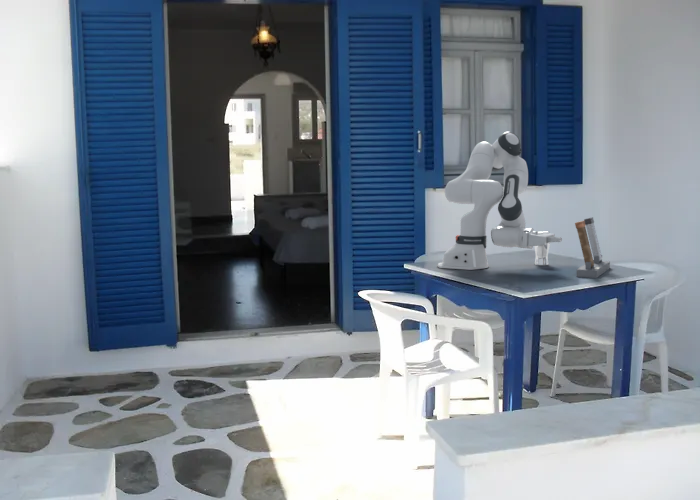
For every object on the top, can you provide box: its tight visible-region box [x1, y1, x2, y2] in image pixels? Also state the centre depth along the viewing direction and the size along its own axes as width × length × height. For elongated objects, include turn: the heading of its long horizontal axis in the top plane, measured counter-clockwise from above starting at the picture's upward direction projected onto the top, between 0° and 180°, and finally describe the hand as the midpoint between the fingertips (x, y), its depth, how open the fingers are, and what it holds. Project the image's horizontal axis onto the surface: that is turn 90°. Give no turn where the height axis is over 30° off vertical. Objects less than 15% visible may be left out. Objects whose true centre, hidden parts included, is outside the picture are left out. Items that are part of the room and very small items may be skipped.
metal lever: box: [583, 217, 603, 262], centre depth 325 cm, size 3×5×19 cm, turn 151°
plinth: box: [576, 254, 611, 279], centre depth 317 cm, size 8×30×6 cm, turn 151°
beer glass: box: [533, 230, 551, 266], centre depth 339 cm, size 7×7×15 cm
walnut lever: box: [574, 220, 594, 267], centre depth 309 cm, size 3×5×19 cm, turn 151°
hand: (561, 239), depth 314 cm, fingers closed
